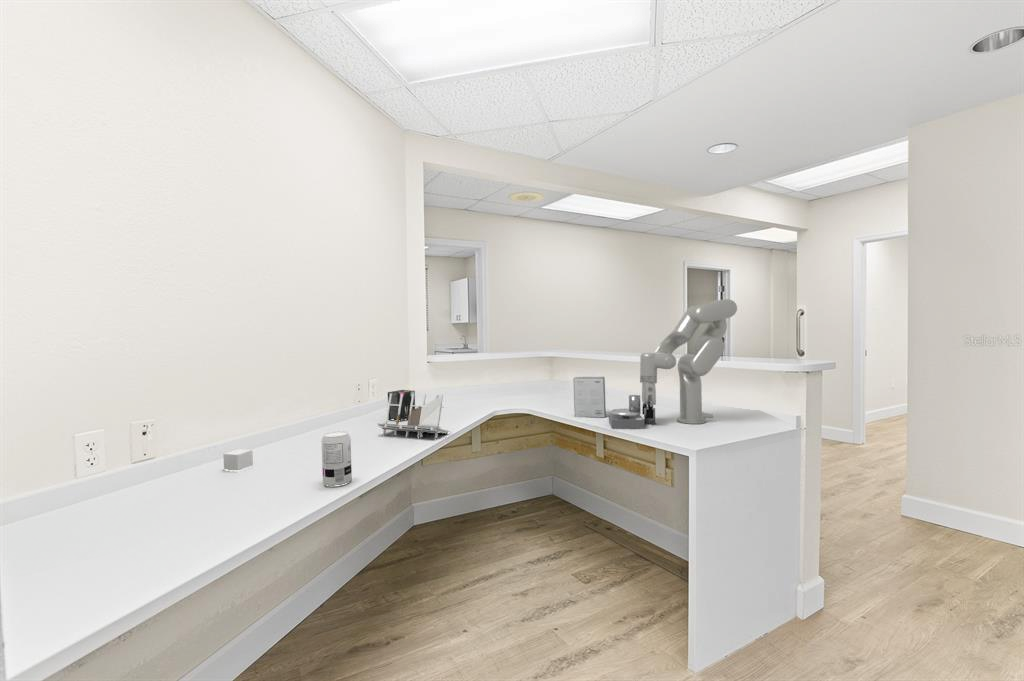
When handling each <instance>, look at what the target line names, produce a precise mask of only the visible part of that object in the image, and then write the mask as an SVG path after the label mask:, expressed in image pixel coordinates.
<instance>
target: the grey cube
mask: <svg viewBox="0 0 1024 681" xmlns="http://www.w3.org/2000/svg"><path fill="white" fill-rule="evenodd" d="M253 454H254V452H253V449H241V448H240V449H239V448H238V449H235V450H233V451H228V452H226V453H223V470H224V469H228V470H241V469H243V468H246V467H249V466H252V465H253V466H254V456H253Z"/></svg>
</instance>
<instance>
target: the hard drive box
mask: <svg viewBox="0 0 1024 681" xmlns="http://www.w3.org/2000/svg"><path fill="white" fill-rule="evenodd" d="M605 379H606V378H605V376H574V377H573V402H574V403H573V404H574V407H573V408H574V409H573V410H574V417H575V416H577V417H576V418H605V417H606V416H607V409H606V385H605V384H606V383H605V382H606V380H605Z"/></svg>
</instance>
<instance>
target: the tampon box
mask: <svg viewBox="0 0 1024 681" xmlns="http://www.w3.org/2000/svg"><path fill="white" fill-rule="evenodd" d="M390 393H392V398H391V404H398V405H399V403H400V397H401V394H403V398H402V405H401V411H400V417H399V420H405V419H408V418H409V411H410V405H411V399H412V394H414V401H413V405H416V391H415V390H411V389H399V390H395V391H387V403H388V402H389V396H390ZM415 408H416V407H414V406H413V407H412V410H414V409H415ZM398 409H399V406H392V405H390V409H389V415H388V420H389V419H394V420H397V415H398ZM405 421H406V420H405Z"/></svg>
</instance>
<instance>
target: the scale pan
mask: <svg viewBox="0 0 1024 681" xmlns="http://www.w3.org/2000/svg"><path fill="white" fill-rule="evenodd" d="M610 412H611V413H610V414H613V415H619V416H622V417H629V416H636V415H640V416H641V412H642V411H641V410H640V412H630V411H629V408H614V409H612V410H611V411H610Z"/></svg>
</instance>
